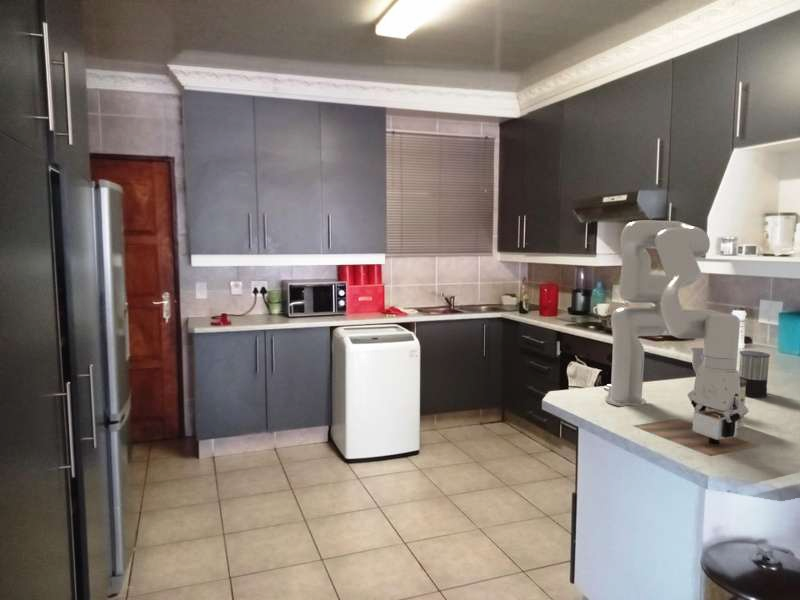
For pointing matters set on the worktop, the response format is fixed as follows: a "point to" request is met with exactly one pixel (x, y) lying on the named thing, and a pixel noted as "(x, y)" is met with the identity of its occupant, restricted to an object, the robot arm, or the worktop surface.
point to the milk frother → (754, 372)
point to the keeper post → (711, 440)
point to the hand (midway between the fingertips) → (714, 431)
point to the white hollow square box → (710, 424)
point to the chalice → (696, 358)
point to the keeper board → (693, 437)
